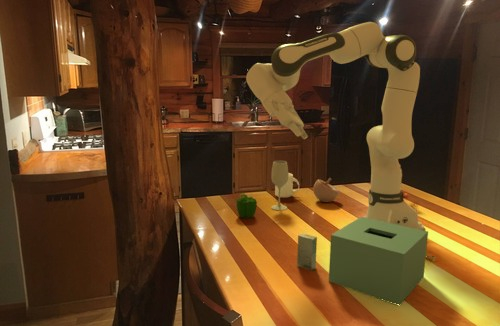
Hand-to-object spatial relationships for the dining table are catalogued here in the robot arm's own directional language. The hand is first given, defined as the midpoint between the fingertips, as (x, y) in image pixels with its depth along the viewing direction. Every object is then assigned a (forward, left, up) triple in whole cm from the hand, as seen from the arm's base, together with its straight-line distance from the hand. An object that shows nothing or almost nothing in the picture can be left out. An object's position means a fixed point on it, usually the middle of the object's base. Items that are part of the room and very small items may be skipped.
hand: (302, 136), depth 133 cm
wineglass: (-1, -41, -38) cm, 56 cm away
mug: (-9, -60, -38) cm, 72 cm away
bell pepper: (+15, -31, -38) cm, 51 cm away
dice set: (-38, +16, -39) cm, 56 cm away
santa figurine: (-57, -44, -38) cm, 82 cm away
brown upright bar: (+3, +18, -38) cm, 42 cm away
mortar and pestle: (-25, -48, -38) cm, 66 cm away
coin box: (-15, +28, -38) cm, 49 cm away
